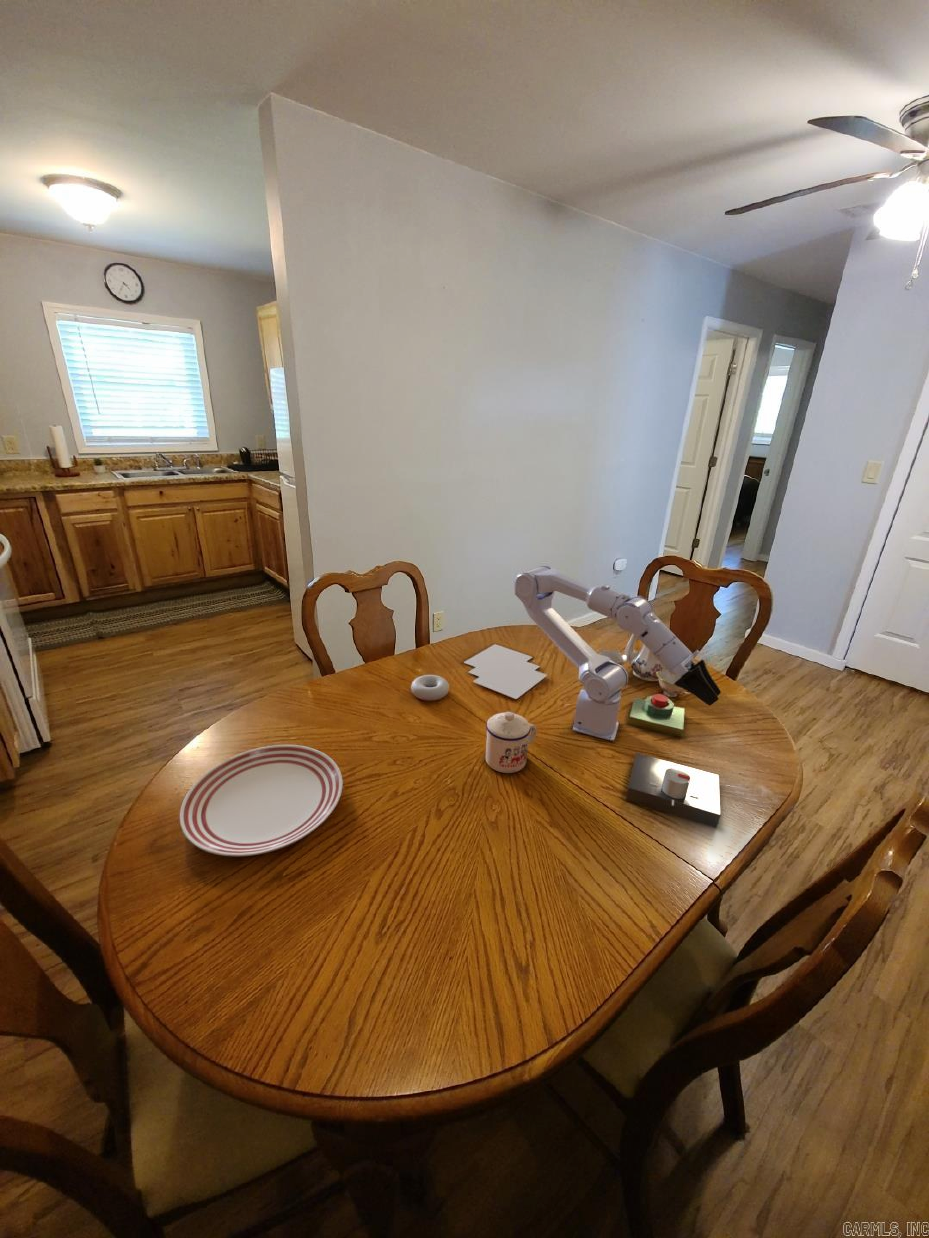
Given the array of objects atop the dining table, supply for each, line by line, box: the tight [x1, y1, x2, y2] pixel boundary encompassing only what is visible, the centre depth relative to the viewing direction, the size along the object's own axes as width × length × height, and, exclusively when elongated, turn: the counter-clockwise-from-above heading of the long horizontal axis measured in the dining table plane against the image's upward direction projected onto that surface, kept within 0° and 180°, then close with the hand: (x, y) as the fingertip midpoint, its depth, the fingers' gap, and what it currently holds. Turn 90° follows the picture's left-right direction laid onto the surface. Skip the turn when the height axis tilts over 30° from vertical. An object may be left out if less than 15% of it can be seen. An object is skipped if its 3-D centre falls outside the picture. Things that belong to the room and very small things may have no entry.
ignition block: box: [627, 694, 686, 738], centre depth 122 cm, size 12×10×4 cm
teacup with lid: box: [485, 711, 538, 774], centre depth 104 cm, size 12×9×12 cm
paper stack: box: [463, 643, 548, 700], centre depth 143 cm, size 23×25×1 cm
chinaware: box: [596, 633, 693, 698], centre depth 139 cm, size 28×17×17 cm, turn 55°
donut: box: [410, 674, 450, 702], centre depth 130 cm, size 10×4×10 cm
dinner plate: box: [179, 744, 344, 857], centre depth 91 cm, size 27×27×3 cm
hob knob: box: [662, 768, 690, 799], centre depth 94 cm, size 4×4×4 cm
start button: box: [652, 693, 669, 707], centre depth 122 cm, size 4×4×2 cm
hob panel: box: [625, 752, 722, 829], centre depth 97 cm, size 16×13×3 cm
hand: (715, 698), depth 97 cm, fingers open, 7 cm apart
